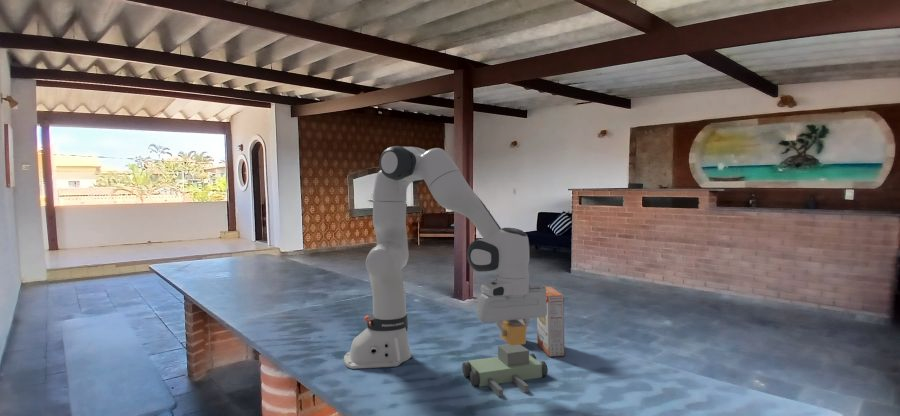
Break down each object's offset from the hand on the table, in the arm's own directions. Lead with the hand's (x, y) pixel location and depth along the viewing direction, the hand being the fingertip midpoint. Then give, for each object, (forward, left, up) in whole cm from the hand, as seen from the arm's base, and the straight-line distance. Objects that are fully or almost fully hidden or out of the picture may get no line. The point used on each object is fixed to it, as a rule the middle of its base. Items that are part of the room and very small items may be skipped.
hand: (512, 334), depth 130 cm
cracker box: (+26, +24, -16) cm, 38 cm away
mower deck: (+1, +5, -15) cm, 16 cm away
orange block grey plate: (0, 0, -2) cm, 2 cm away
